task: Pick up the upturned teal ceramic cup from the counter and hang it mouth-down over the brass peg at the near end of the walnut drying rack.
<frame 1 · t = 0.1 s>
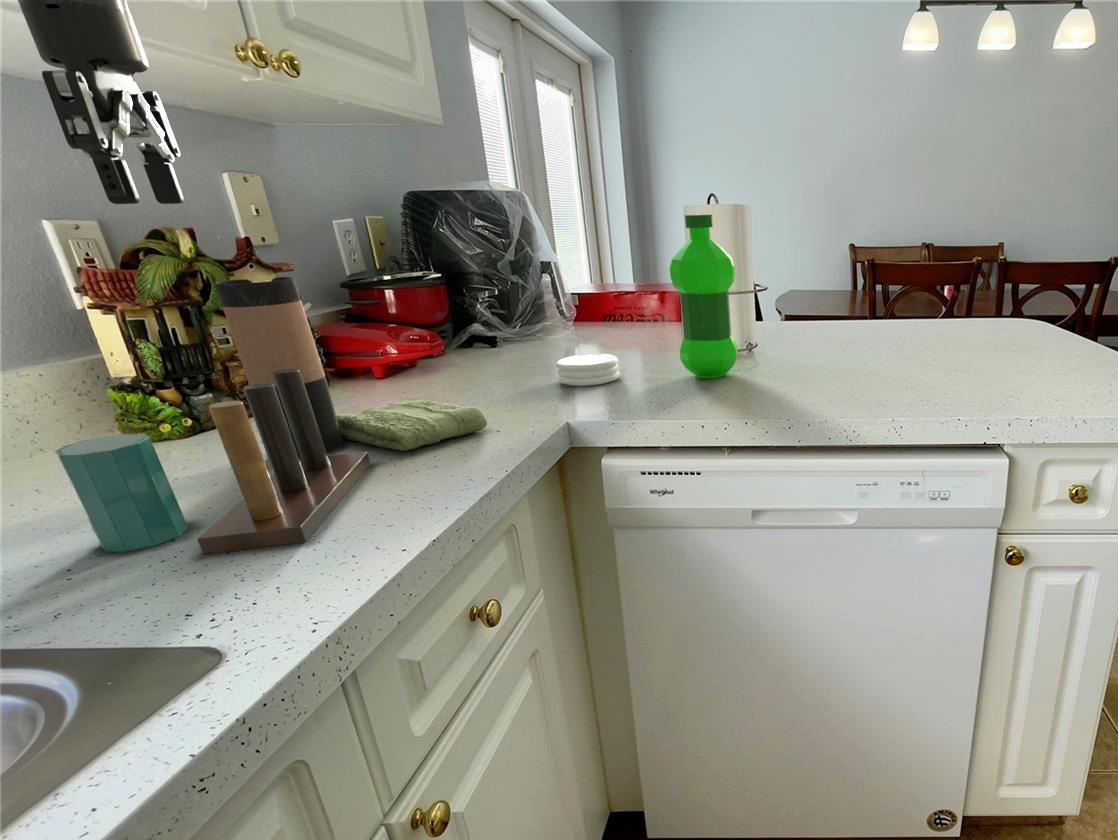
hand: (149, 203, 71), 28 cm above the worktop, tool pointing down, fingers open, 8 cm apart
coaster: (590, 381, 120), on the worktop
teal cup: (146, 537, 66), on the worktop
drying rack: (299, 502, 72), on the worktop
plastic bottle: (710, 376, 121), on the worktop
travel mug: (311, 450, 89), on the worktop
washcloth: (412, 434, 94), on the worktop
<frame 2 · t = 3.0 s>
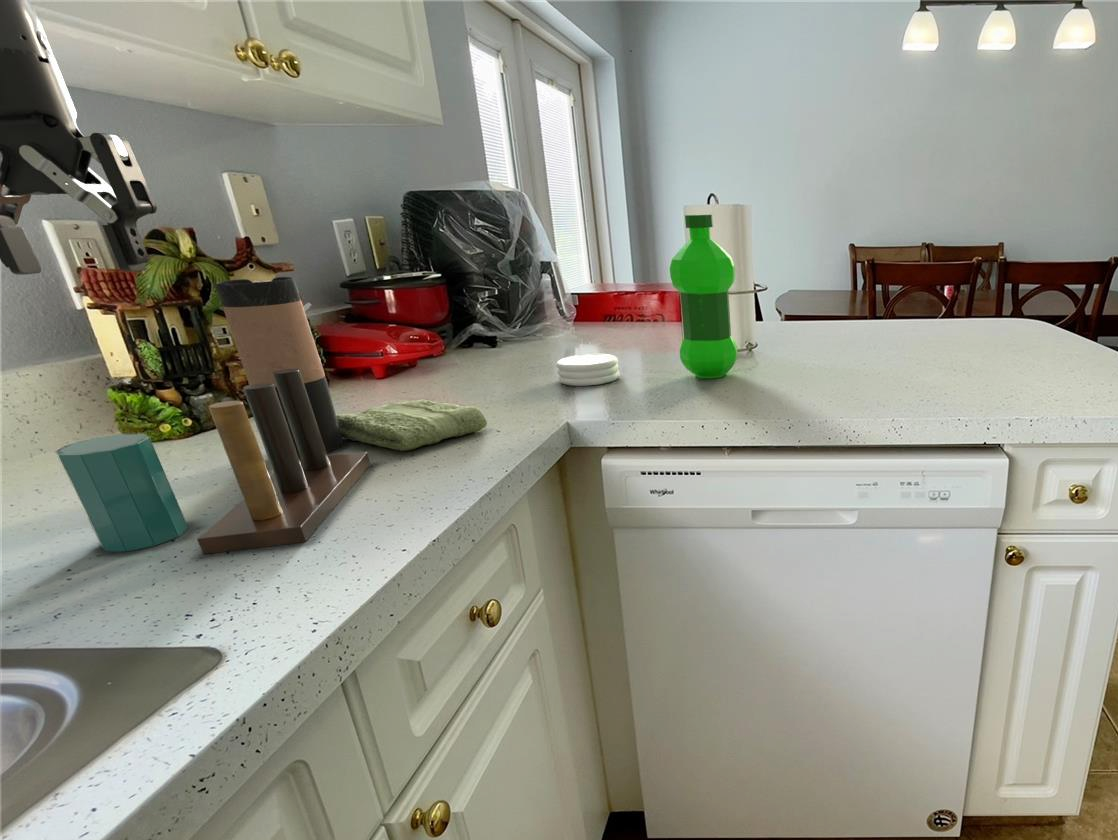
hand: (82, 272, 61), 23 cm above the worktop, tool pointing down, fingers open, 8 cm apart
nothing on the worktop moved.
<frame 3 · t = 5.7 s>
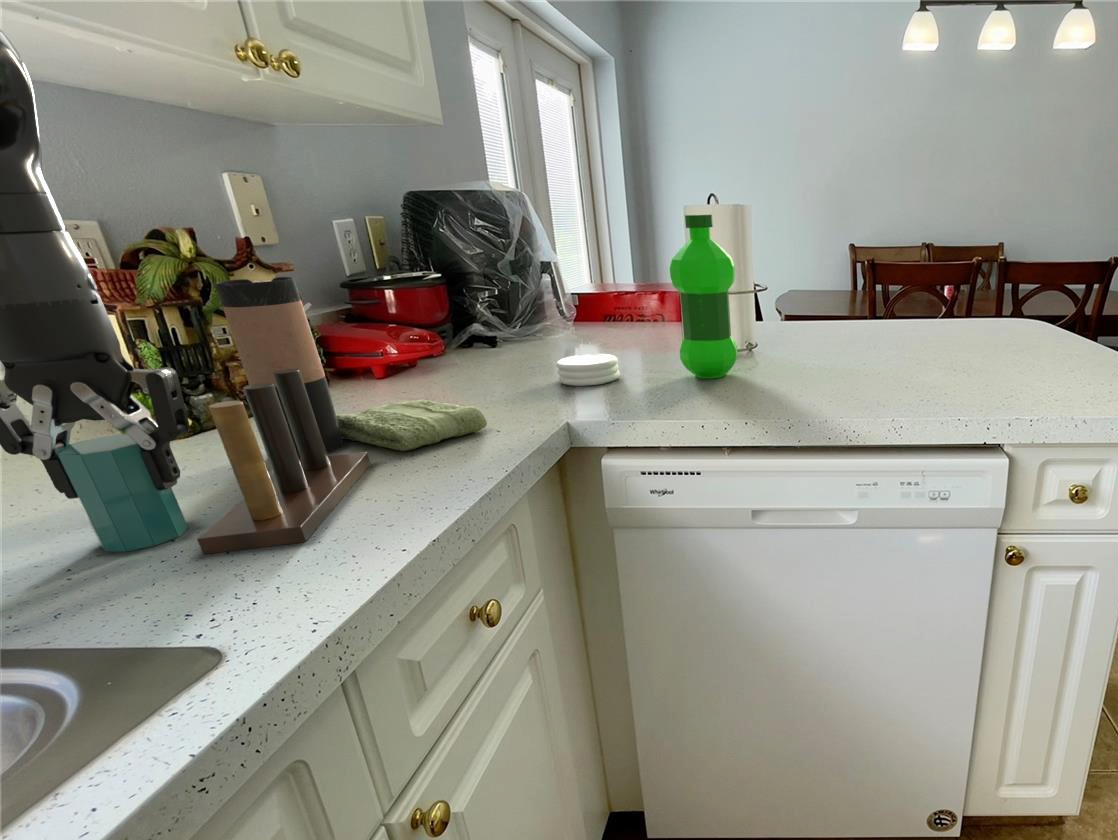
hand: (124, 490, 64), 5 cm above the worktop, tool pointing down, fingers closed on teal cup, 6 cm apart
teal cup: (146, 537, 65), on the worktop, touching gripper
everything else where it was.
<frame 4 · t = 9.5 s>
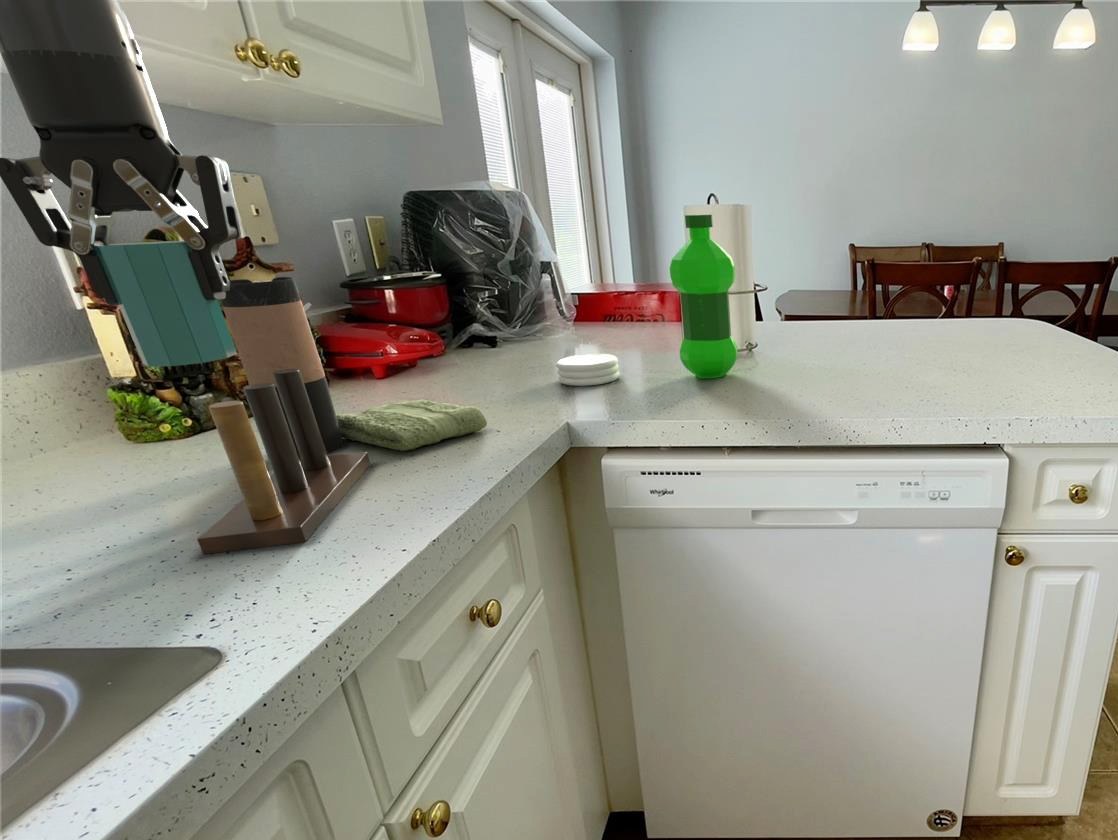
hand: (169, 301, 57), 21 cm above the worktop, tool pointing down, fingers closed on teal cup, 6 cm apart
teal cup: (191, 358, 59), point 16 cm above the worktop, touching gripper
everything else where it was.
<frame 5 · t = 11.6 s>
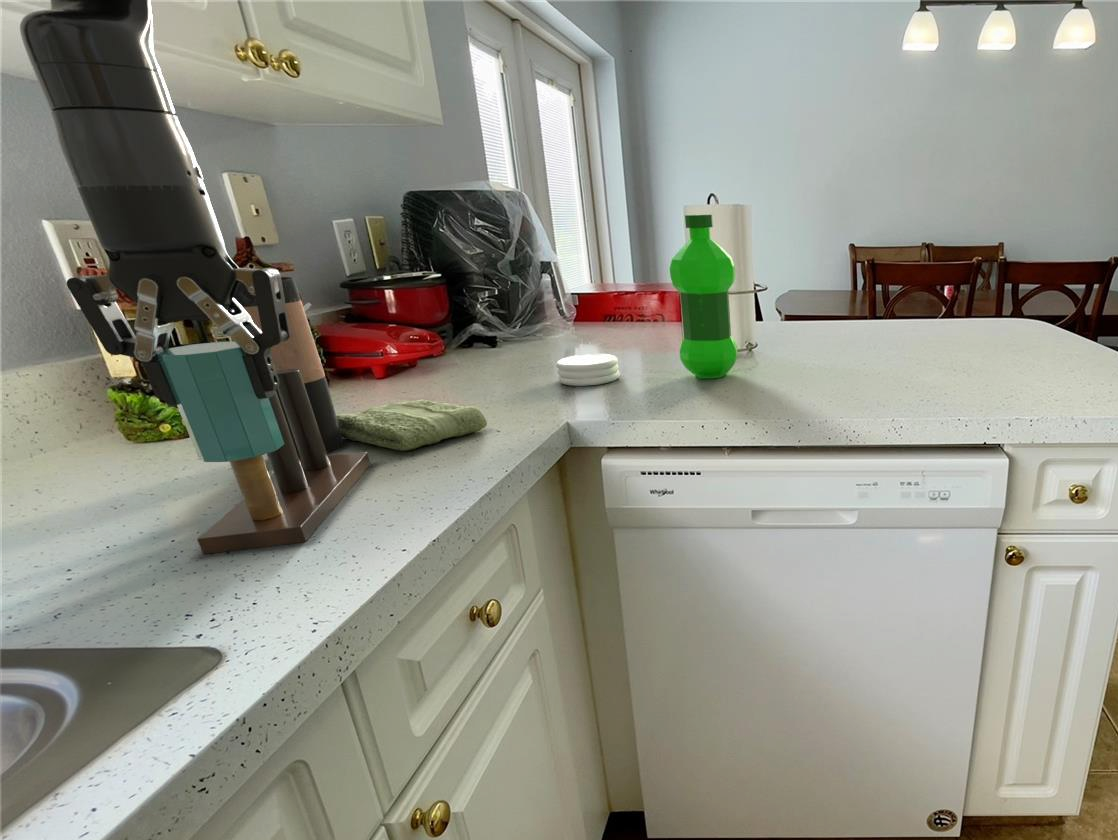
hand: (223, 399, 61), 12 cm above the worktop, tool pointing down, fingers closed on teal cup, 6 cm apart
teal cup: (242, 450, 63), point 8 cm above the worktop, touching gripper
everything else where it was.
when the fingers open (8 cm above the worktop, at t = 13.3 s): teal cup stays where it is, resting on drying rack.
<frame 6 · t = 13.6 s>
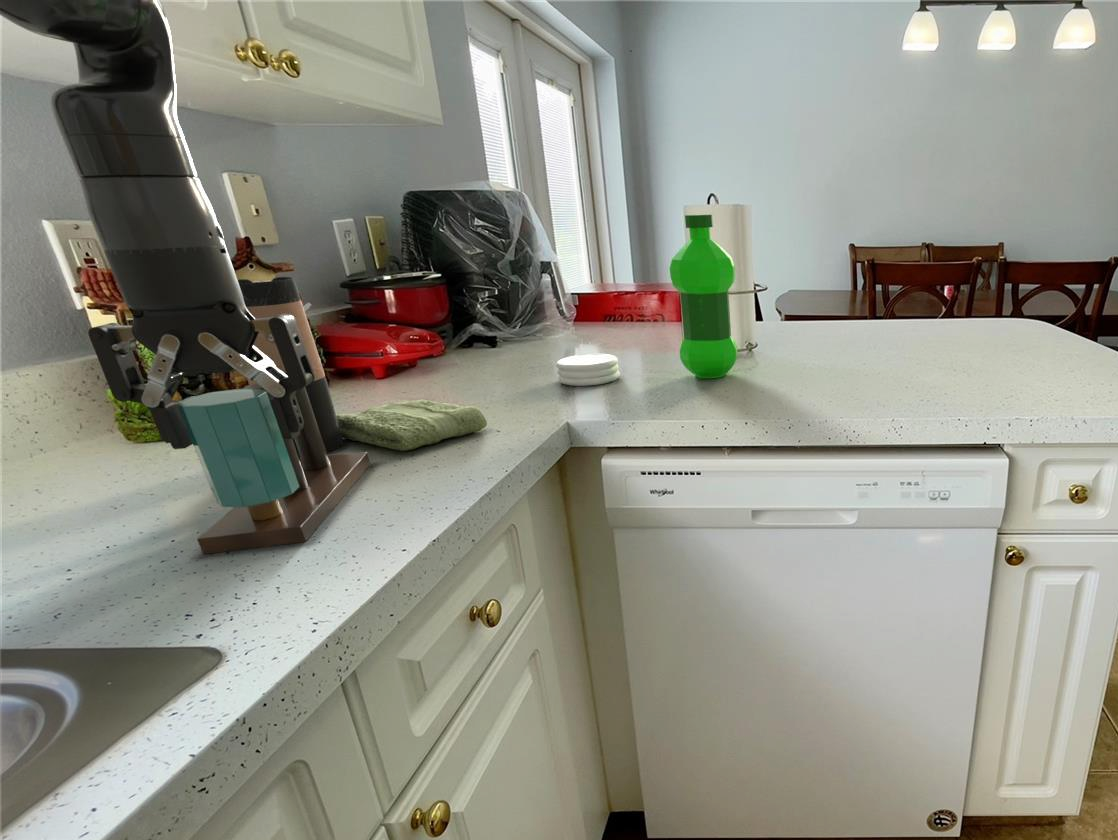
hand: (239, 441, 63), 9 cm above the worktop, tool pointing down, fingers open, 8 cm apart
teal cup: (259, 494, 65), point 4 cm above the worktop, touching drying rack
everything else where it was.
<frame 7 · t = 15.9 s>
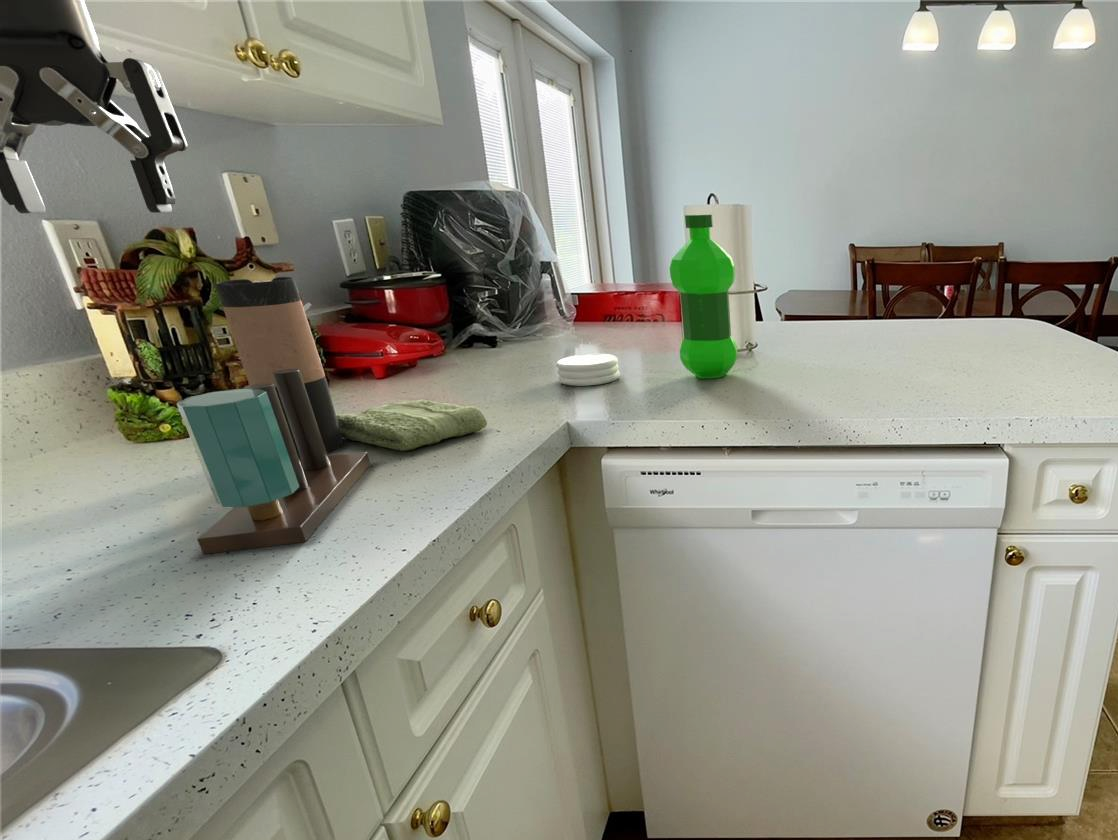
hand: (98, 212, 56), 27 cm above the worktop, tool pointing down, fingers open, 8 cm apart
nothing on the worktop moved.
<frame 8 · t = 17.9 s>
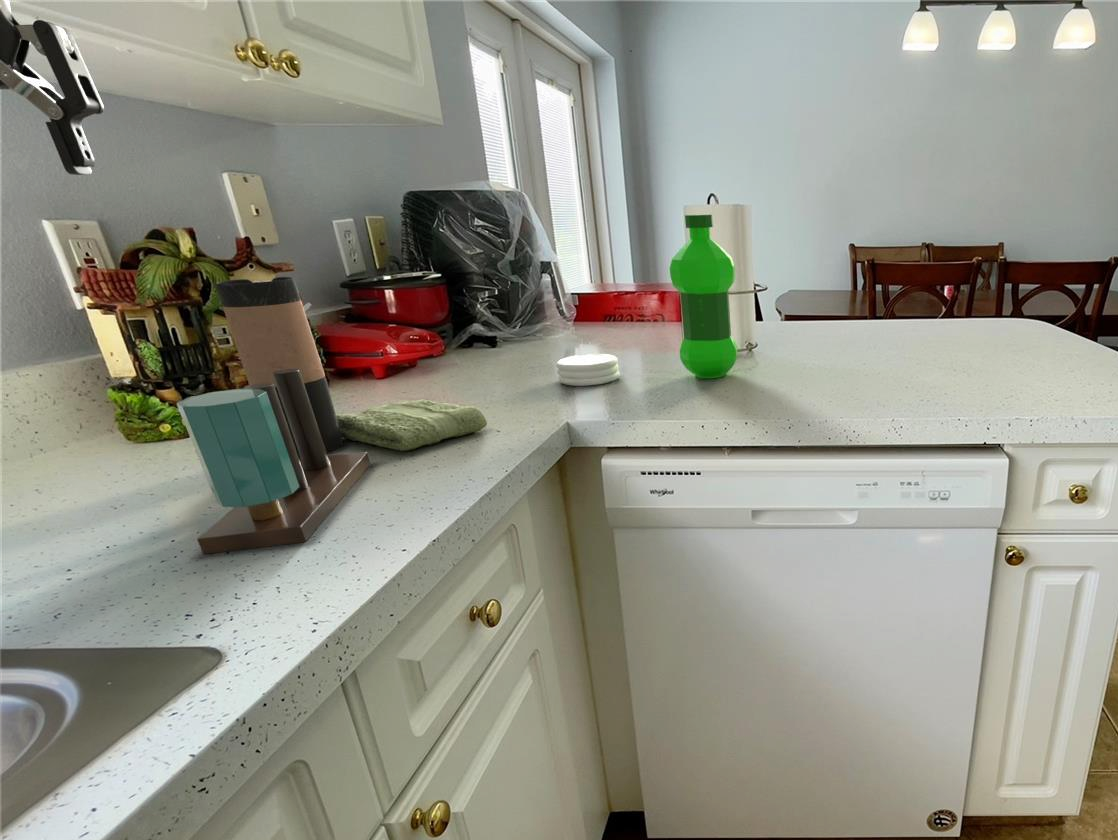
hand: (18, 175, 58), 30 cm above the worktop, tool pointing down, fingers open, 8 cm apart
nothing on the worktop moved.
at the end: teal cup 0.0 cm from the target spot on the drying rack, point 3.6 cm above the drying rack's base; teal cup touching drying rack; teal cup tilted 0° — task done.
